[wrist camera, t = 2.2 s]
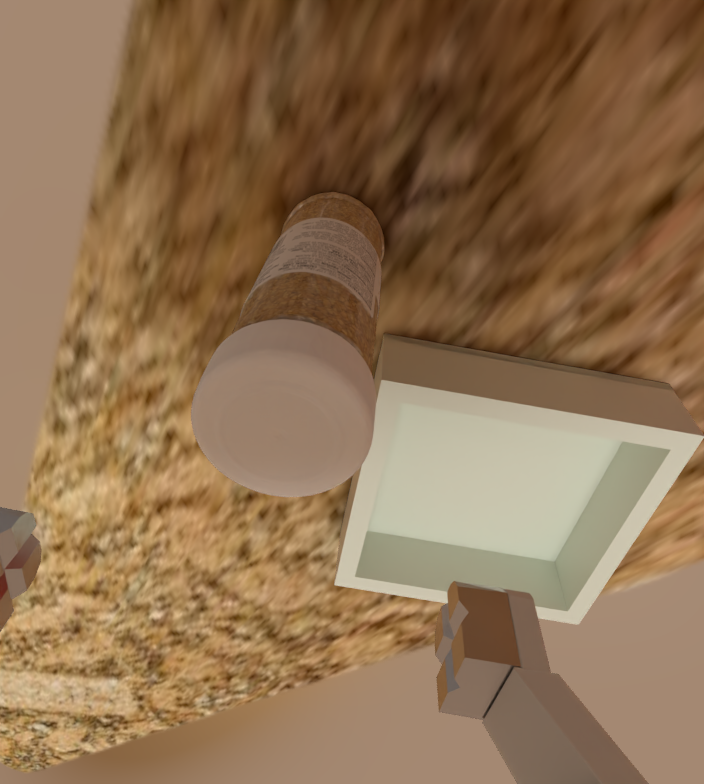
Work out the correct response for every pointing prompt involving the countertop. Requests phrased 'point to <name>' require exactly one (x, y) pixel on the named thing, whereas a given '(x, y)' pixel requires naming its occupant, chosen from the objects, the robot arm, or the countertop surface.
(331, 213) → the sprinkles bottle
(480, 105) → the countertop surface
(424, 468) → the bin
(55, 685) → the countertop surface
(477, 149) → the countertop surface
